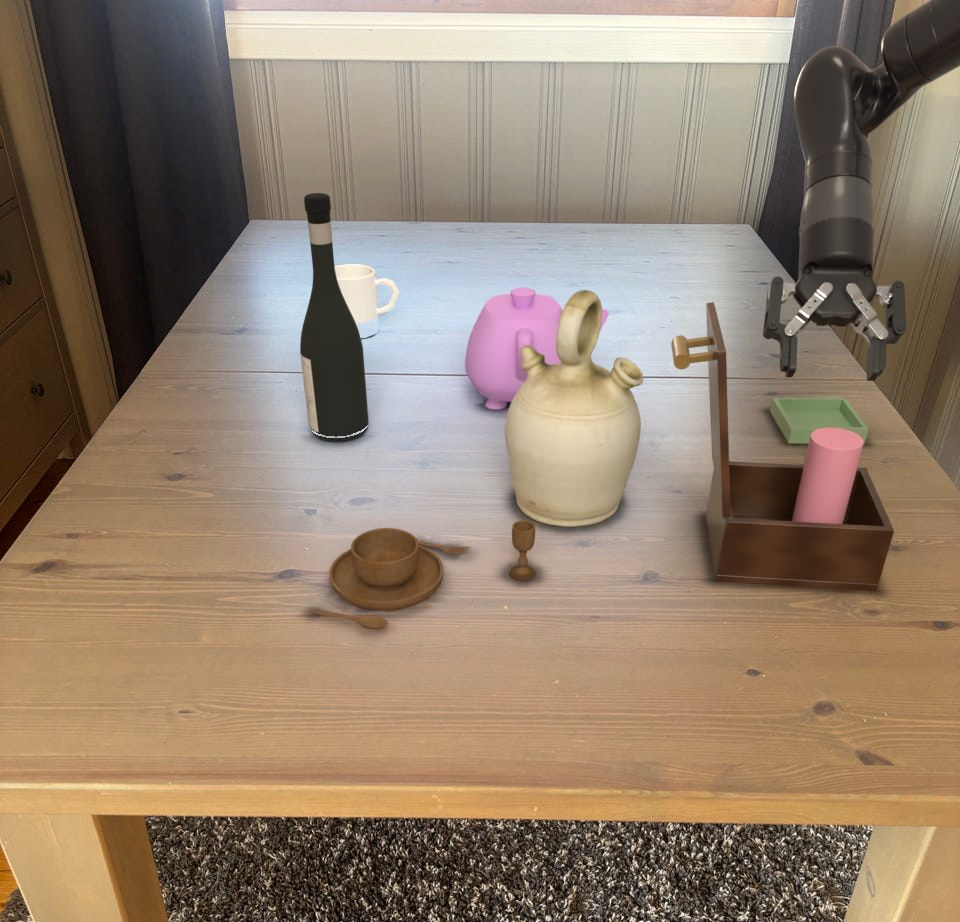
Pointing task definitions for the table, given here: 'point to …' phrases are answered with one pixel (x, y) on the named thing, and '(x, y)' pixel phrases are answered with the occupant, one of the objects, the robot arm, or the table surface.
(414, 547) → the place setting
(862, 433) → the tray
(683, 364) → the chest lid
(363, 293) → the mug
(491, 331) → the teapot
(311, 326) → the wine bottle
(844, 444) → the tube
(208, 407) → the table surface
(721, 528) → the chest
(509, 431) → the jug
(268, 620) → the table surface
